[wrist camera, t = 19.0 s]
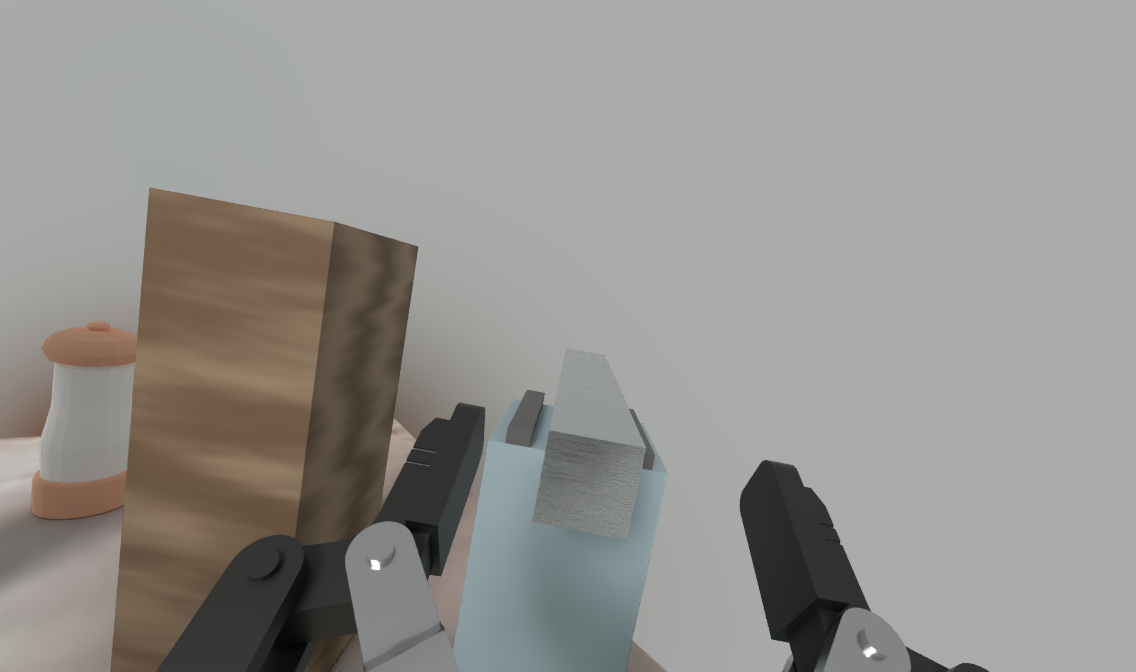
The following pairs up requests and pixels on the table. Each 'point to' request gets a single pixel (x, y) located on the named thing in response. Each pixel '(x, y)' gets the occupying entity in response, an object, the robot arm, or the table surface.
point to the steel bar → (590, 452)
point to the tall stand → (251, 402)
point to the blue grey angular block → (549, 564)
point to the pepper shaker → (86, 423)
